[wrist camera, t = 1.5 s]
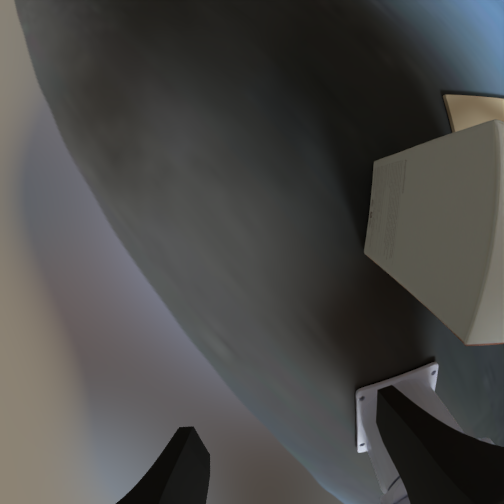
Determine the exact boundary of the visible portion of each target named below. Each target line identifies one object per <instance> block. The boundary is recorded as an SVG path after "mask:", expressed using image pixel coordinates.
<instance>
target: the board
mask: <svg viewBox="0 0 504 504" xmlns="http://www.w3.org/2000/svg"><path fill="white" fill-rule="evenodd" d="M443 99H444V102H445V106H446V109H447V113H448V117H449V121H450V125H451V129H452V133H454V132H457V131H460V130H463V129H466V128H469V127H472V126H475V125H478V124H481V123H484V122H487V121H491V120H494V119H497V120H501V121H503V122H504V99H501V98H492V97H481V96H466V95H443Z"/></svg>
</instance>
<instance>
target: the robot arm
mask: <svg viewBox="0 0 504 504" xmlns="http://www.w3.org/2000/svg"><path fill="white" fill-rule="evenodd" d="M437 373H438V364H437V363H436V362H432V363H430V364H427V365H425V366H422V367H420V368H417V369H415V370H412V371H410V372H407V373H404V374H402V375H399V376H396V377H393V378H390V379H387V380H384V381H381V382H378V383H375V384H372V385H369V386H366V387H362V388H360V389H358V390H357V391H356V424H357V451H358V452H359V453H361V452H365V451H368V454H369V456H370V459H371V462H372V465H373V468H374V470H375V473H376V476H377V479H378V482H379V485H380V488H381V490H382V492H383V493H384V495H382V496H381V497H380V499H381V502H382V504H504V447H501V446H497V445H495V444H494V443H493V442H492V441H491V440H490V439H489V438H480V437H479V438H477V439H475V438H473V437H470V436H468V435H466V434H465V433H464V432H463V430H462V429H461V428H460V426H459V425H458V423H457V422H456V420H455V419H454V418H453V416H452V415H451V413H450V412H449V411H448V409H447V408H446V407H445V405H444V404H443V402H442V401H441V400H440V398H439V397H438V396H437V394H436V393H435V386H436V380H437ZM362 396H363V397H362ZM361 397H362V398H361ZM209 478H210V454H209V452H208V451H207V449H206V447H205V446H204V444H203V442H202V441H201V439H200V437H199V436H198V434H197V432H196V430H195V428H194V427H179V429H178V430H177V431H176V433H175V434H174V436H173V437H172V439H171V440H170V442H169V443H168V445H167V446H166V447H165V449H164V450H163V452H162V453H161V455H160V456H159V457H158V459H157V460H156V462H155V463H154V464H153V465H152V467H151V468H150V469H149V470H148V472H147V473H146V474H145V475H144V476H143V478H142V479H141V480H140V481H139V482H138V483H137V484H136V486H135V487H134V488H133V489H132V490H131V491H130V492H129V493H127V494H126V496H124V497H123V498H122V499H121V500H120V501H118V502H117V503H116V504H206V499H207V492H208V486H209Z"/></svg>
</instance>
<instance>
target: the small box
mask: <svg viewBox="0 0 504 504" xmlns="http://www.w3.org/2000/svg"><path fill="white" fill-rule="evenodd" d="M364 254H365V255H366V256H368V257H369V258H370V259H371V260H372V261H374V262H375V263H376V264H377V265H379V266H380V267H381V268H382V269H383V270H384V271H386V272H387V273H388V274H389V275H390V276H391V277H393V278H394V279H395V280H396V281H397V282H398V283H399V284H401V285H402V286H403V287H404V288H405V289H406V290H407V291H408V292H410V293H411V294H412V295H413V296H414V297H415V298H416V299H417V300H419V301H420V302H421V303H422V304H423V305H424V306H425V307H426V308H427V309H429V310H430V311H431V312H432V313H433V314H434V315H435V316H436V317H437V318H438V319H439V320H440V321H441V322H442V323H443V324H445V325H446V326H447V327H448V328H449V329H450V330H451V331H452V332H453V333H454V334H455V335H456V336H457V337H458V338H459V339H460V340H461V341H462V342H463V343H464V345H465V346H479V345H495V344H504V122H503V121H501V120H497V119H494V120H491V121H487V122H484V123H481V124H478V125H475V126H472V127H469V128H466V129H463V130H460V131H457V132H454V133H451V134H448V135H445V136H442V137H439V138H437V139H434V140H431V141H428V142H425V143H423V144H420V145H417V146H414V147H412V148H409V149H407V150H404V151H401V152H399V153H396V154H393V155H390V156H387V157H384V158H382V159H379V160H376V161H374V166H373V179H372V190H371V201H370V211H369V220H368V227H367V234H366V241H365V247H364Z"/></svg>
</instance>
